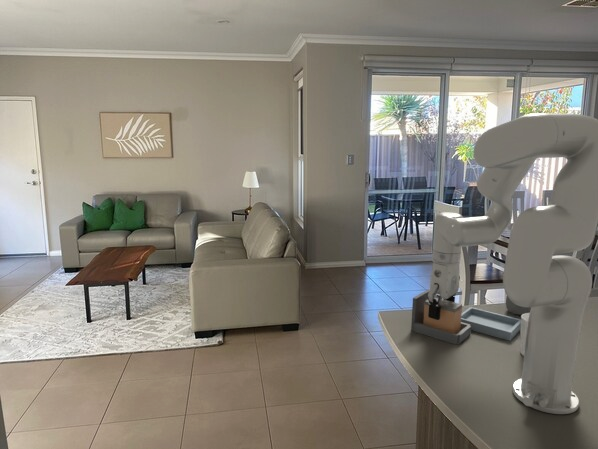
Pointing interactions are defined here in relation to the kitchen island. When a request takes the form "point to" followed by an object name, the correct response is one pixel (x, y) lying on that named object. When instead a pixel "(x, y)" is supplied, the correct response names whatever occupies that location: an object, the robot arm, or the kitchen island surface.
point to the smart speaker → (516, 308)
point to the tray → (491, 323)
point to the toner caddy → (445, 316)
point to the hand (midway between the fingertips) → (441, 313)
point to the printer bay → (431, 331)
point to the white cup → (523, 332)
